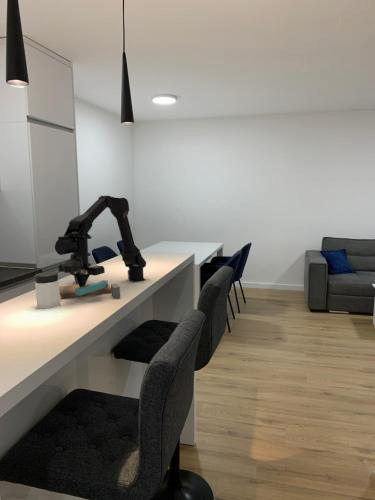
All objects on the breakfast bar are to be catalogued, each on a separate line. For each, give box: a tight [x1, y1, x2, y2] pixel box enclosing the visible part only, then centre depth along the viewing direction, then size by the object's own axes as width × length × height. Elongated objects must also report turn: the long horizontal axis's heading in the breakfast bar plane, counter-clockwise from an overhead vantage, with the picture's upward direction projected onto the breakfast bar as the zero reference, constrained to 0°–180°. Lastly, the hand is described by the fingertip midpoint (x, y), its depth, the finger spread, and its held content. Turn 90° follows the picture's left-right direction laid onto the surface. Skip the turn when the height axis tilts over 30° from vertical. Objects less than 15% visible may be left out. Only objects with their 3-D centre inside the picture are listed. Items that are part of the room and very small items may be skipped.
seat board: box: [59, 282, 111, 300], centre depth 169 cm, size 20×14×2 cm
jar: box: [34, 271, 61, 309], centre depth 150 cm, size 9×8×12 cm
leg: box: [75, 279, 109, 296], centre depth 161 cm, size 16×3×2 cm, turn 148°
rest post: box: [110, 283, 121, 300], centre depth 159 cm, size 2×6×4 cm, turn 21°
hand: (82, 289), depth 160 cm, fingers closed
